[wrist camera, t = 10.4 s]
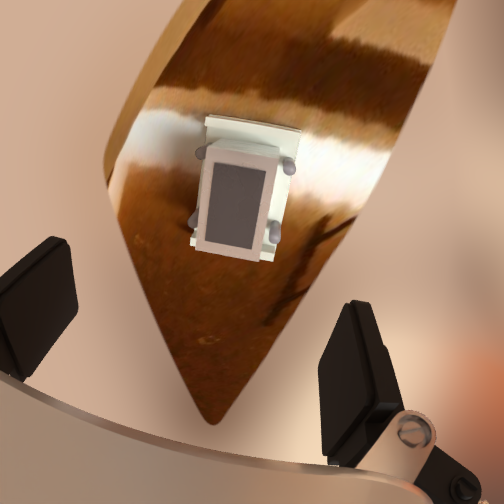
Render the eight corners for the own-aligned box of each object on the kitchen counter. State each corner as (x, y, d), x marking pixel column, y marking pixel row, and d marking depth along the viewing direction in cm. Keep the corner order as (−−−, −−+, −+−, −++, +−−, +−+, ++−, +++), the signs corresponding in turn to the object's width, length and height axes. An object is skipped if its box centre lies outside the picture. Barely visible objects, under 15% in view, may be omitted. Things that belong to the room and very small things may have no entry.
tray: (211, 114, 27) (200, 116, 23) (300, 129, 27) (303, 133, 23) (195, 234, 32) (184, 252, 28) (274, 250, 32) (273, 270, 28)
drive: (222, 137, 27) (206, 147, 21) (279, 147, 26) (279, 159, 21) (211, 221, 30) (194, 250, 25) (263, 231, 30) (258, 263, 25)
